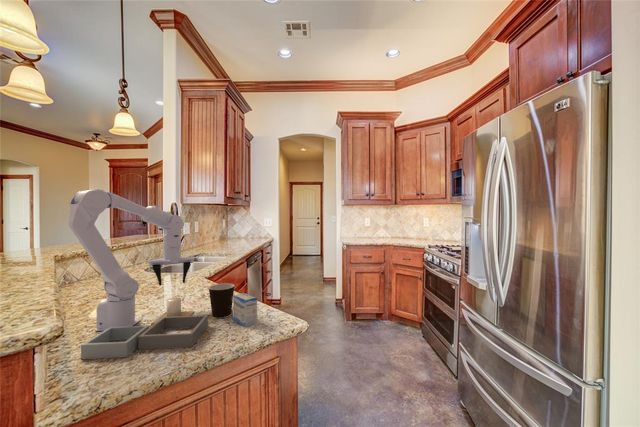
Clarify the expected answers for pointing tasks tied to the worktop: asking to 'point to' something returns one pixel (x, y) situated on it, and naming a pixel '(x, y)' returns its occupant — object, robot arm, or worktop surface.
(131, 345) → the slate bin
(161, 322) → the charcoal bin
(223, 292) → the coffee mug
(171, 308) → the cream capsule
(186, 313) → the tan board
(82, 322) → the worktop surface
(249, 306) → the medicine box
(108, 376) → the worktop surface
